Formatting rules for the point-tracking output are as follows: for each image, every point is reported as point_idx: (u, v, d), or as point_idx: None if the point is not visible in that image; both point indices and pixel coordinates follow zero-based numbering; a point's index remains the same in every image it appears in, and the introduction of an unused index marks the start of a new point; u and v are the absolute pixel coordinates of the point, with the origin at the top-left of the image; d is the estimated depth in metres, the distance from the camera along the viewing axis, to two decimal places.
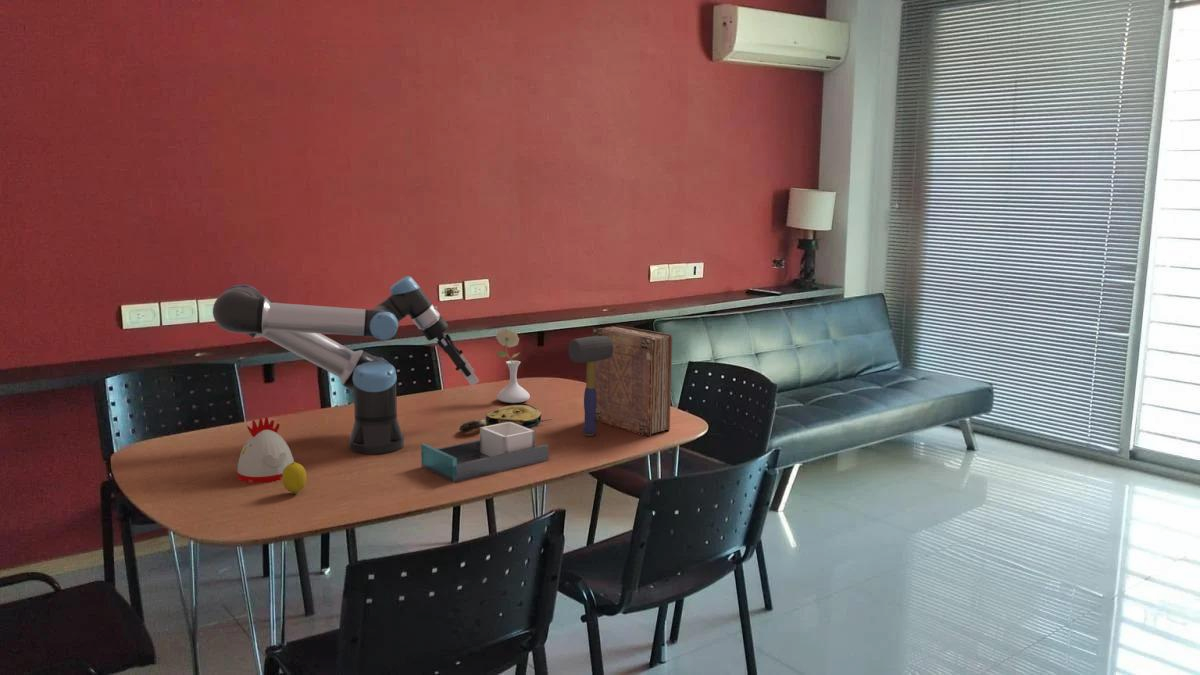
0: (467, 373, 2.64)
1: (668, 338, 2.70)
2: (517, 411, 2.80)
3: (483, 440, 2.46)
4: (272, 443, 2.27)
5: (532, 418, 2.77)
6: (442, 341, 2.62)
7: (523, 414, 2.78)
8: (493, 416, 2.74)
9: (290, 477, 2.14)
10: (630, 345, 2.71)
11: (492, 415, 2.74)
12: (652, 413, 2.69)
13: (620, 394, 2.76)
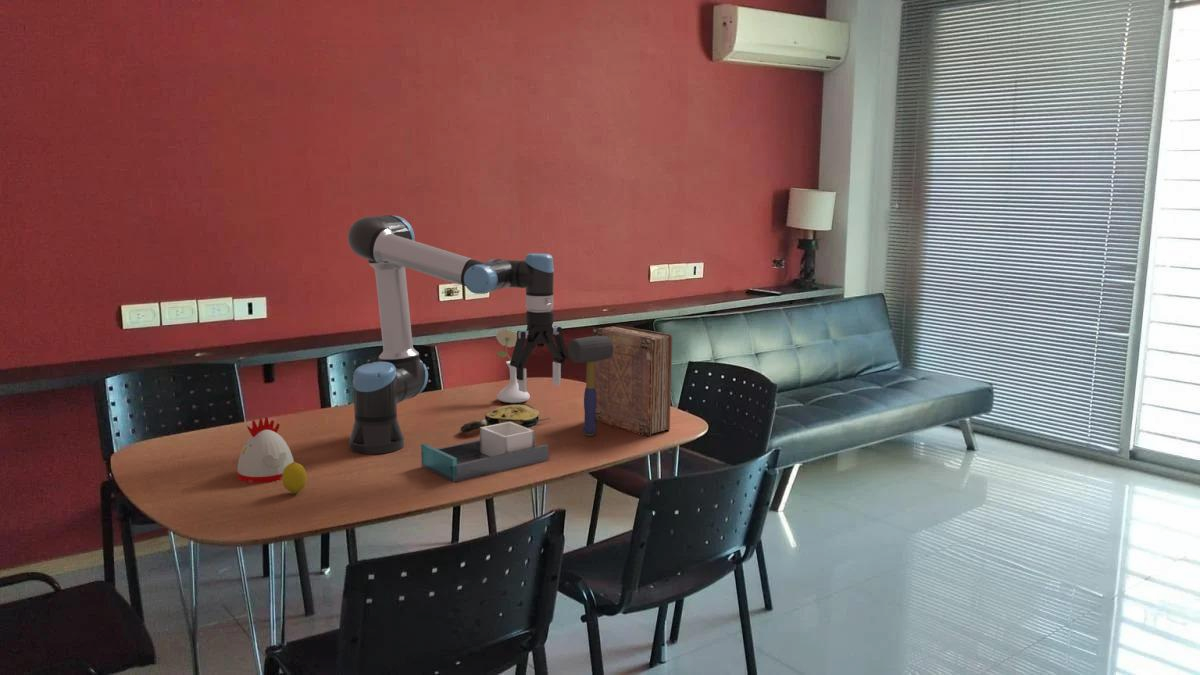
0: None
1: (668, 338, 2.70)
2: (516, 411, 2.80)
3: (483, 440, 2.46)
4: (272, 443, 2.27)
5: (531, 417, 2.78)
6: (519, 332, 2.44)
7: (522, 413, 2.79)
8: (493, 416, 2.74)
9: (290, 477, 2.14)
10: (630, 345, 2.71)
11: (492, 415, 2.74)
12: (652, 413, 2.69)
13: (620, 394, 2.76)
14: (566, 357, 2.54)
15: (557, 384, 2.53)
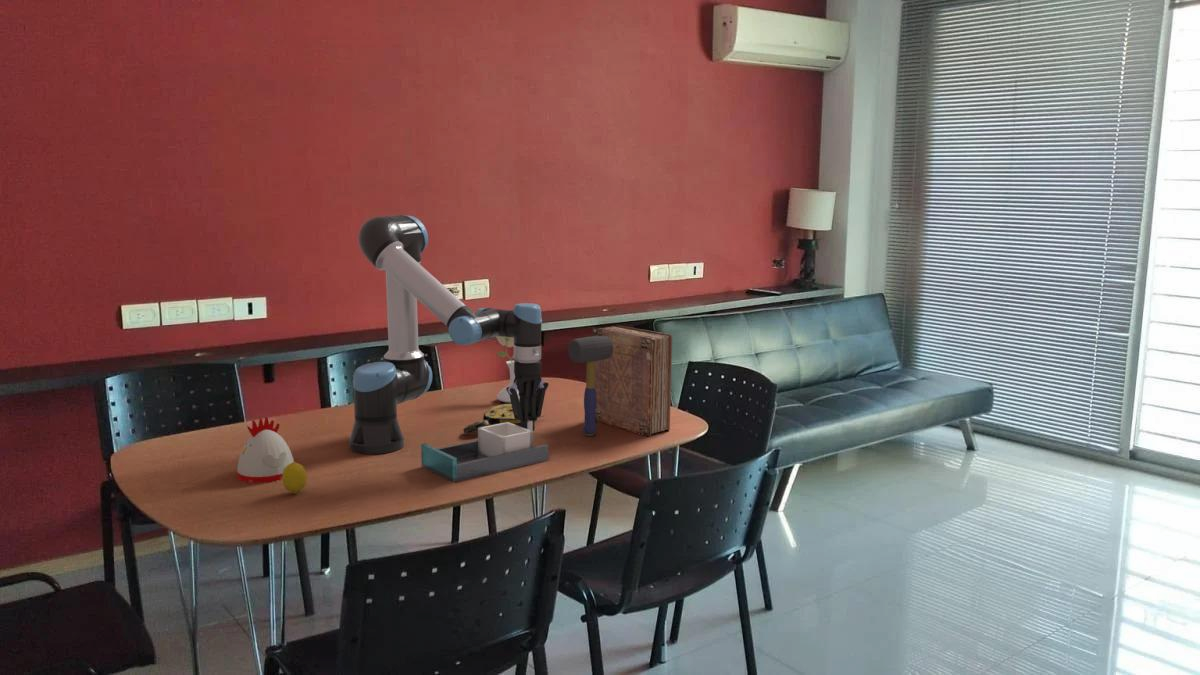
0: None
1: (668, 338, 2.70)
2: (512, 410, 2.81)
3: (481, 441, 2.45)
4: (272, 443, 2.27)
5: None
6: (508, 390, 2.44)
7: None
8: (493, 416, 2.74)
9: (290, 477, 2.14)
10: (630, 345, 2.71)
11: (492, 415, 2.74)
12: (652, 413, 2.69)
13: (620, 394, 2.76)
14: (538, 414, 2.50)
15: None
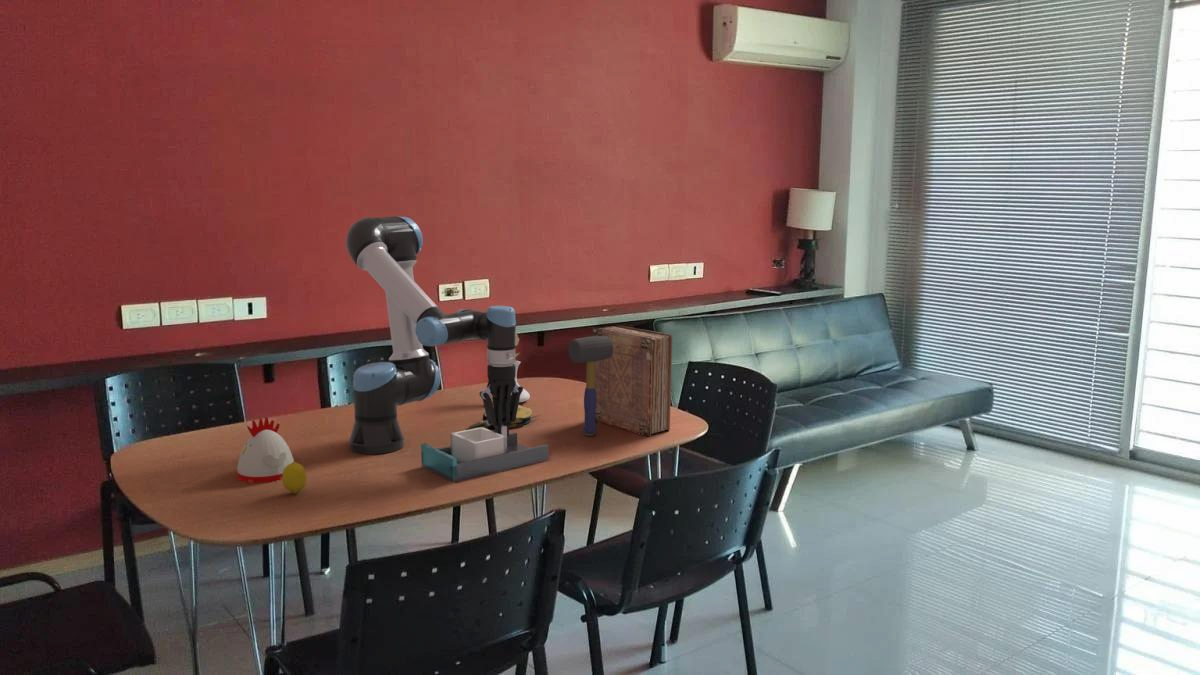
0: None
1: (668, 338, 2.70)
2: None
3: (454, 446, 2.40)
4: (272, 443, 2.27)
5: (528, 415, 2.81)
6: (481, 395, 2.39)
7: (518, 412, 2.81)
8: None
9: (290, 477, 2.14)
10: (630, 345, 2.71)
11: None
12: (652, 413, 2.69)
13: (620, 394, 2.76)
14: (513, 419, 2.45)
15: None
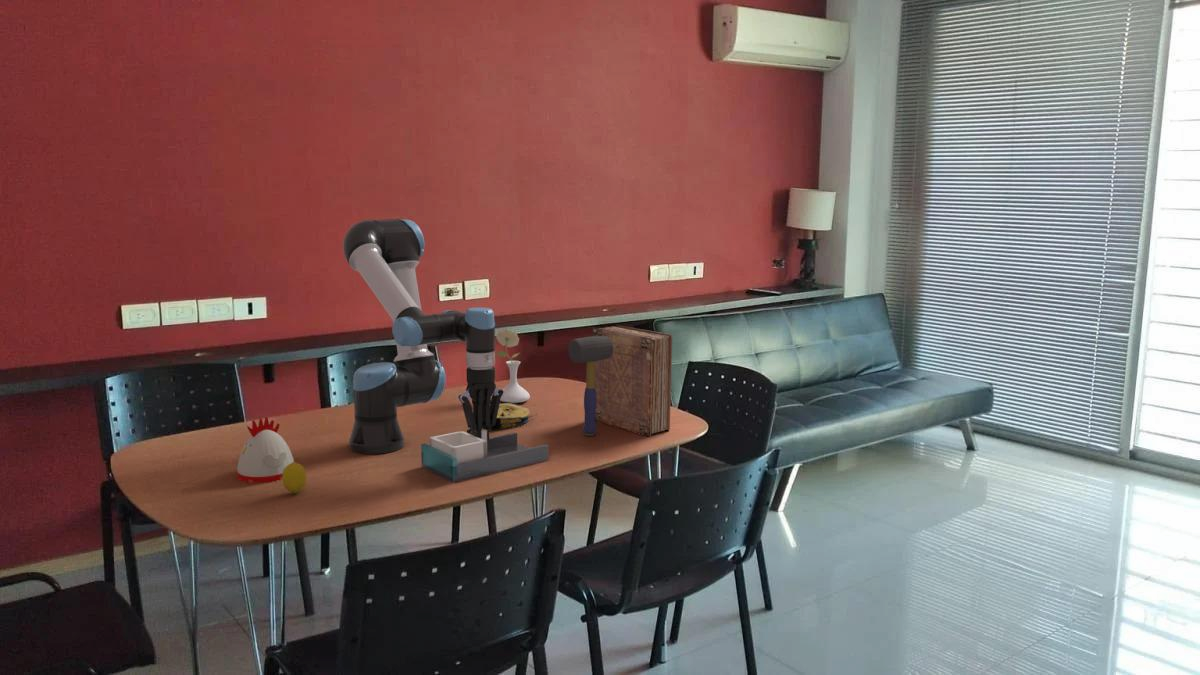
0: None
1: (668, 338, 2.70)
2: (508, 409, 2.82)
3: None
4: (272, 443, 2.27)
5: (526, 414, 2.82)
6: (460, 398, 2.35)
7: (516, 411, 2.81)
8: None
9: (290, 477, 2.14)
10: (630, 345, 2.71)
11: None
12: (652, 413, 2.69)
13: (620, 394, 2.76)
14: (493, 423, 2.41)
15: None
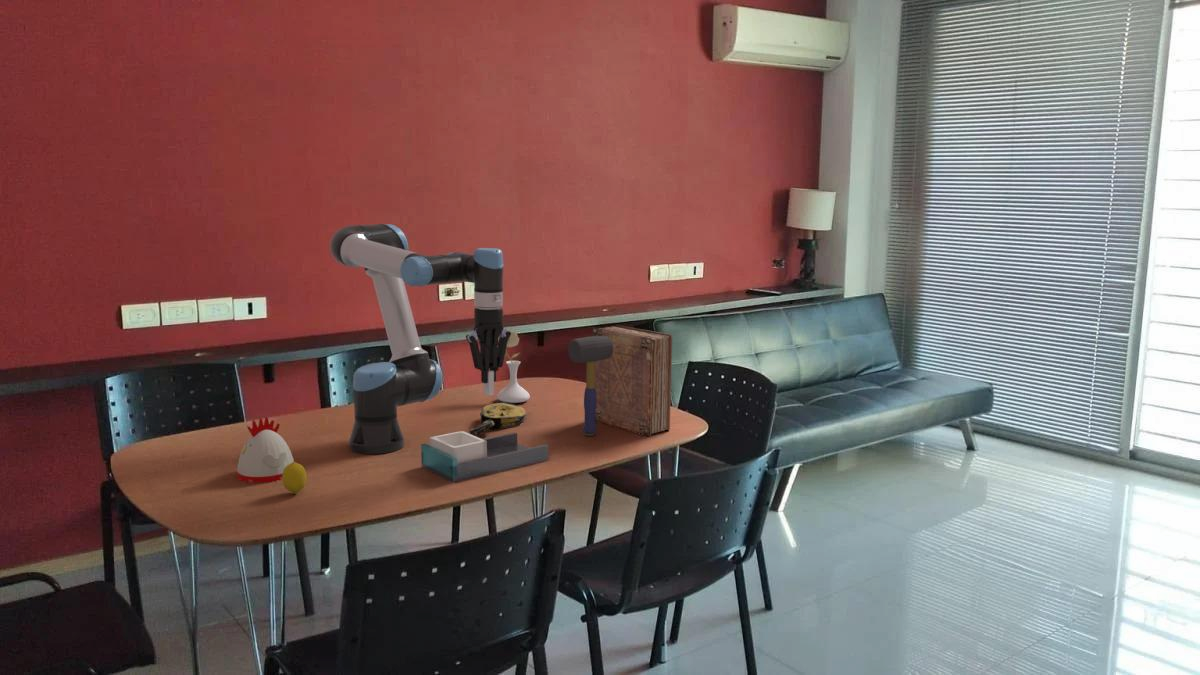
0: None
1: (668, 338, 2.70)
2: (504, 409, 2.83)
3: None
4: (272, 443, 2.27)
5: (523, 413, 2.83)
6: (468, 338, 2.35)
7: (513, 410, 2.82)
8: (494, 416, 2.74)
9: (290, 477, 2.14)
10: (630, 345, 2.71)
11: (492, 415, 2.74)
12: (652, 413, 2.69)
13: (620, 394, 2.76)
14: (500, 364, 2.41)
15: None
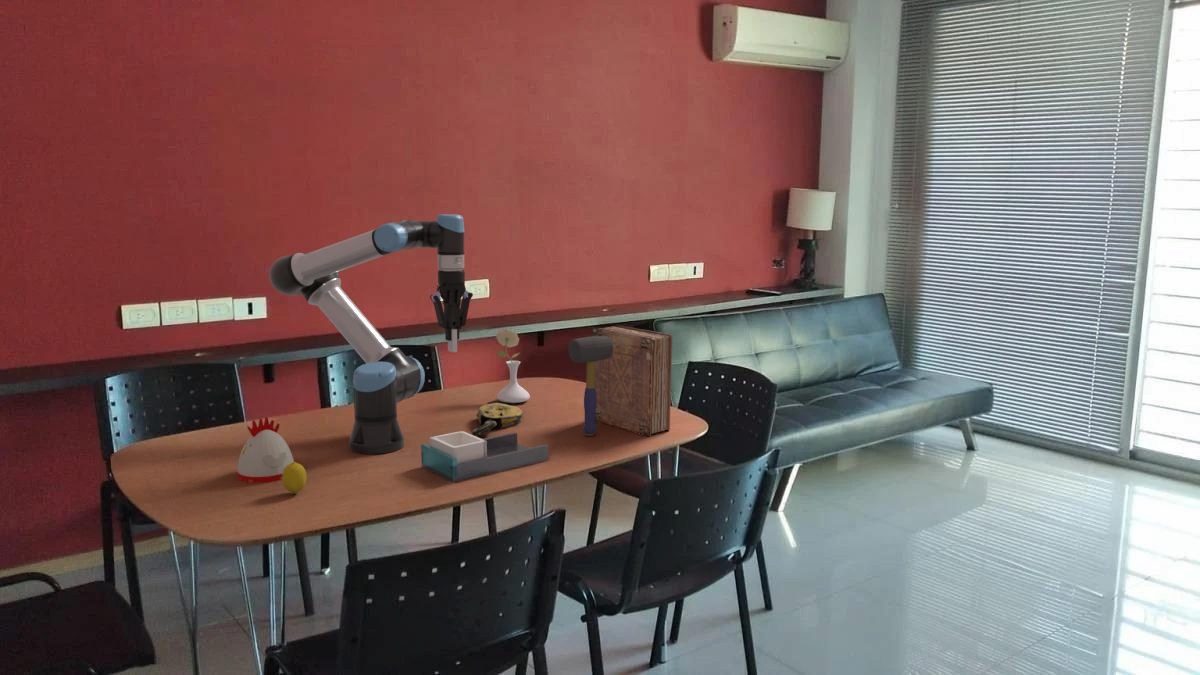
0: (447, 337, 2.57)
1: (668, 338, 2.70)
2: (501, 409, 2.83)
3: None
4: (272, 443, 2.27)
5: (520, 412, 2.84)
6: (432, 298, 2.52)
7: (510, 410, 2.82)
8: (494, 416, 2.74)
9: (290, 477, 2.14)
10: (630, 345, 2.71)
11: (492, 415, 2.74)
12: (652, 413, 2.69)
13: (620, 394, 2.76)
14: (463, 323, 2.58)
15: None
